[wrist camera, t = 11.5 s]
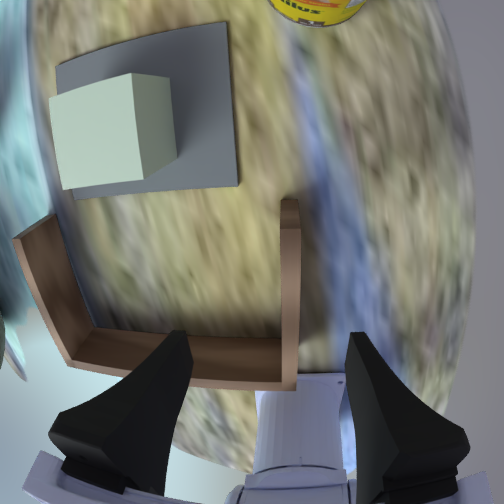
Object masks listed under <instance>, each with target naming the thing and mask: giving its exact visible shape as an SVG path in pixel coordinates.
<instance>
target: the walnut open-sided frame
mask: <svg viewBox="0 0 504 504" xmlns="http://www.w3.org/2000/svg"><path fill="white" fill-rule="evenodd" d="M12 242H13V245H14V248H15V251H16V254H17V257H18V259H19V262H20V265H21V268H22V270H23V273H24V276H25V278H26V281H27V283H28V286H29V288H30V290H31V293H32V295H33V298H34V300H35V302H36V304H37V307H38V309H39V311H40V313H41V315H42V318H43V320H44V322H45V324H46V326H47V328H48V330H49V332H50V334H51V336H52V338H53V340H54V342H55V344H56V346H57V347H58V350H59V351H60V353H61V355H62V357H63V359H64V360H65V362H66V364H67V366H69V367H74V368H78V369H83V370H87V371H92V372H97V373H102V374H107V375H112V376H118V377H123V378H125V377H126V376H127V375H128V374H129V373H131V372H132V371H133V370H134V369H135V368H136V367H137V366H138V365H139V364H141V363H142V362H143V361H144V360H145V359H146V358H147V357H148V356H149V355H150V354H151V353H152V352H153V351H154V350H155V349H156V348H157V347H158V345H159V344H160V343H161V342H162V341H163V340H164V339H165V338H166V337H167V336H168V335H169V334H159V333H147V332H136V331H126V330H116V329H107V328H99V327H94V325H93V323H92V321H91V318H90V316H89V313H88V311H87V308H86V306H85V303H84V300H83V298H82V295H81V292H80V290H79V287H78V284H77V281H76V279H75V276H74V273H73V270H72V267H71V264H70V261H69V258H68V254H67V251H66V248H65V245H64V241H63V238H62V234H61V231H60V227H59V224H58V220H57V216H56V214H52V215H47V216H45V217H44V218H42V219H41V220H39V221H38V222H36V223H35V224H33V225H32V226H30V227H29V228H27V229H26V230H24V231H23V232H21V233H20V234H18V235H17V236H16V237H14V238H13V239H12ZM280 255H281V310H282V338H230V337H206V336H187V338H188V342H189V346H190V350H191V353H192V357H193V361H194V364H193V370H192V375H191V379H190V383H189V386H191V387H202V388H214V389H229V390H250V391H296V386H297V368H298V347H299V321H300V283H301V224H300V215H299V207H298V200H281V213H280Z"/></svg>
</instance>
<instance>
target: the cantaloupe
mask: <svg viewBox="0 0 504 504" xmlns="http://www.w3.org/2000/svg"><path fill="white" fill-rule="evenodd" d="M4 350H5V326H4V321H3V317H2V314H1V312H0V369H1V366H2V361H3V356H4Z"/></svg>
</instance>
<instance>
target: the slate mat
mask: <svg viewBox="0 0 504 504" xmlns="http://www.w3.org/2000/svg"><path fill="white" fill-rule="evenodd" d="M55 68H56V84H57V95H60V94H62V93H65V92H68V91H71V90H74V89H77V88H80V87H83V86H86V85H89V84H93V83H96V82H99V81H103V80H106V79H110V78H113V77H117V76H121V75H125V74H129V73H136V74H145V75H153V76H160V77H167V78H170V89H171V101H172V112H173V122H174V131H175V141H176V150H177V158H178V159H176V160H174V161H173V162H171V163H169V164H168V165H166V166H164V167H163V168H161V169H159V170H158V171H156V172H155V173H153V174H151V175H150V176H148V177H147V178H145V179H143V180H134V181H125V182H117V183H109V184H101V185H93V186H86V187H79V188H73V189H72V193H73V198H74V200H79V199H88V198H96V197H105V196H114V195H124V194H135V193H146V192H158V191H170V190H184V189H200V188H218V187H238V172H237V159H236V146H235V133H234V119H233V106H232V92H231V78H230V64H229V50H228V35H227V23H226V22H220V23H213V24H206V25H199V26H193V27H187V28H182V29H177V30H172V31H167V32H162V33H158V34H154V35H149V36H145V37H141V38H138V39H134V40H130V41H127V42H123V43H120V44H116V45H113V46H110V47H107V48H104V49H101V50H98V51H95V52H92V53H89V54H86V55H83V56H81V57H78V58H75V59H73V60H70V61H68V62H65V63H63V64H60V65H58V66H55Z"/></svg>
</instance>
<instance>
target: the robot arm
mask: <svg viewBox="0 0 504 504" xmlns="http://www.w3.org/2000/svg"><path fill="white" fill-rule="evenodd" d="M193 364H194V361H193V357H192V353H191V350H190V346H189V342H188V338H187V334H186V331H177V330H173V331H172V332H171V333H170V334H169V335H168V336H167V337H166V338H165V339H164V340H163V341H162V342H161V343H160V344H159V345H158V347H157V348H156V349H155V350H154V351H153V352H152V353H151V354H150V355H149V356H148V357H147V358H146V359H145V360H144V361H143V362H142V363H141V364H139V365H138V366H137V367H136V368H135V369H134V370H133V371H132V372H131V373H129V374H128V375H127V376H126V377H125V378H123V379H122V380H121V381H119V382H118V383H117V384H115V385H114V386H112V387H111V388H109V389H108V390H106V391H104V392H103V393H101V394H100V395H98V396H96V397H94V398H92V399H91V400H89V401H87V402H84V403H83V404H81V405H78V406H76V407H73V408H71V409H68V410H65V411H63V412H60V413H59V414H58V416H57V418H56V420H55V421H54V423H53V425H52V427H51V429H50V431H49V432H48V436H49V438H50V440H51V441H52V442H53V444H54V445H55V446H56V447H57V448H58V449H59V450H60V451H61V452H62V453H63V454H64V455H65V456H66V458H65V460H64V461H63V460H61V459H59V458H58V457H56V456H53V455H51V454H49V453H46V452H44V451H40V452H39V454H38V456H37V458H36V460H35V462H34V464H33V466H32V468H31V470H30V472H29V474H28V476H27V478H26V481H25V483H24V485H23V487H22V490H23V491H24V492H26V493H27V494H29V495H30V496H32V497H33V498H34V499H36V500H37V501H39V502H41V503H42V504H201V503H194V502H188V501H183V500H177V499H173V498H168V497H164V492H165V482H166V472H167V466H168V459H169V453H170V448H171V443H172V438H173V433H174V428H175V425H176V421H177V418H178V415H179V412H180V409H181V407H182V404H183V401H184V398H185V395H186V392H187V389H188V386H189V383H190V379H191V375H192V370H193ZM345 384H346V386H347V391H348V396H349V401H350V406H351V411H352V416H353V422H354V428H355V437H356V459H357V480H356V479H351V480H348V482H347V476H346V470H345V469H343V455H342V442H341V431H340V420H339V409H340V405H341V400H342V396H343V392H344V388H345ZM255 396H256V406H257V416H258V429H257V438H256V447H255V456H254V465H253V473H252V474H248V475H246V479H245V485H238V486H236V487H235V488H234V489H233V490H232V491H231V492H230V493H229V494H228V496H227V498H226V500H225V504H494V502H493V498H492V494H491V490H490V486H489V482H488V479H487V475H486V472H485V471H482V472H479V473H476V474H474V475H471V476H468V477H465V478H463V479H460V480H458V481H456V477H455V476H456V475H457V474H458V471H457V465H458V464H459V463H460V462H461V461H462V460H463V459H464V458H465V457H466V456H467V454H468V453H469V451H470V445H469V442H468V438H467V436H466V433H465V431H464V429H463V428H461V427H460V426H458V425H456V424H454V423H452V422H451V421H449V420H447V419H445V418H444V417H442V416H441V415H439V414H438V413H436V412H435V411H434V410H432V409H431V408H430V407H429V406H427V405H426V404H425V403H424V402H422V401H421V400H420V399H419V398H418V397H417V396H415V395H414V394H413V393H412V392H411V391H410V390H409V389H408V388H407V387H406V386H405V385H404V384H403V383H402V381H401V380H400V379H399V378H398V377H397V376H396V375H395V373H394V372H393V371H392V370H391V369H390V367H389V366H388V365H387V363H386V362H385V361H384V359H383V358H382V357H381V355H380V354H379V352H378V351H377V350H376V348H375V347H374V345H373V344H372V342H371V341H370V339H369V338H368V336H367V334H366V333H365V332H350V338H349V344H348V349H347V355H346V360H345V373H319V374H297V386H296V391H255Z"/></svg>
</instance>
